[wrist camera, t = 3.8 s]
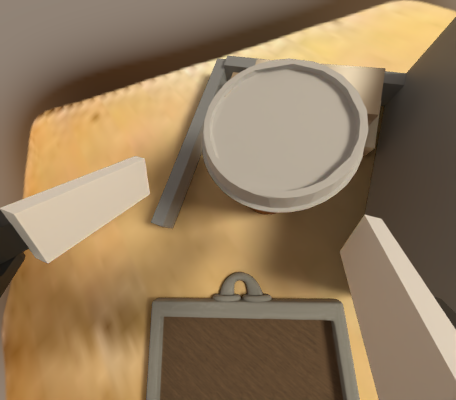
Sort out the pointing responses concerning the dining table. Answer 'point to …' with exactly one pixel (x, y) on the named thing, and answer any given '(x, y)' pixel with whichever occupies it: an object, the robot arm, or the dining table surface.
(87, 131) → the dining table surface
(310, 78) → the disposable coffee cup
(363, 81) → the offcut stack
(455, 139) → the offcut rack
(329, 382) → the empty picture frame
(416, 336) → the robot arm
